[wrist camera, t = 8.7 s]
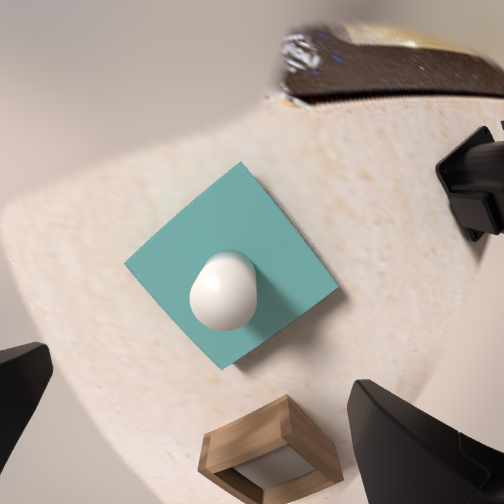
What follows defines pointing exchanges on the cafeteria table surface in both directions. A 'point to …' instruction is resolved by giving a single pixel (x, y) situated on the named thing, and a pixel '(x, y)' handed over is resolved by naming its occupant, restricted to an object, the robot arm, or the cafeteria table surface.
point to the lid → (231, 268)
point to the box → (270, 456)
